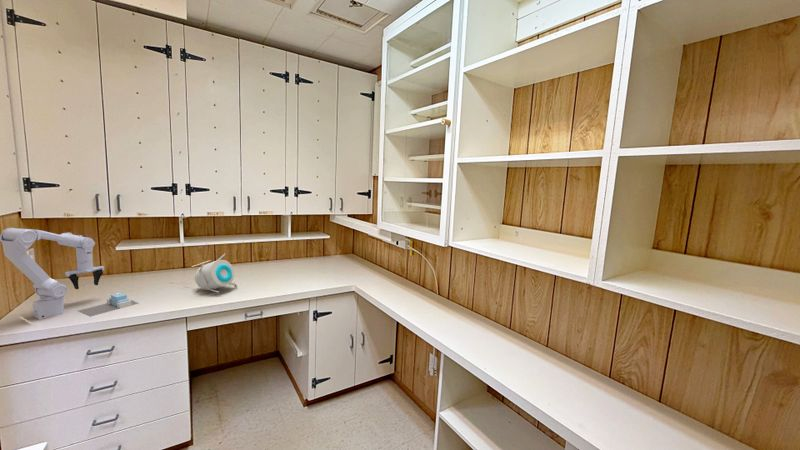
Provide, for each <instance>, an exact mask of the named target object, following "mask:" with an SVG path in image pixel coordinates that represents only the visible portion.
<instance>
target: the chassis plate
mask: <svg viewBox="0 0 800 450" xmlns="http://www.w3.org/2000/svg"><path fill="white" fill-rule="evenodd" d="M109 298H110V297H108V298H106V303H102V304H98V305H95V306H90V307H87V308H83V309H80V310H77V312H78V313H80V314H81V313H82V314H83V315H86V316H88V317H94V316H99V315H101V314H105V313H109V312H112V311H115V310H120V309H123V308H127V307H131V306H135V305H137V304H138V305H139V304H140V302H138V301H134V300H132V299H129V301H125V302H121V303H117V306H114V305H112V304H111V299H109Z"/></svg>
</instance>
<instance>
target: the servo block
mask: <svg viewBox="0 0 800 450" xmlns="http://www.w3.org/2000/svg"><path fill="white" fill-rule="evenodd" d="M108 298H109V299H111V304H112V305H114V306H117V303H121V302H125V301H129V300H130V299H128V296H127V294H125V293H122V292H115V293H112V294H110V297H108Z"/></svg>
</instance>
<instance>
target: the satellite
mask: <svg viewBox="0 0 800 450" xmlns="http://www.w3.org/2000/svg"><path fill="white" fill-rule="evenodd" d="M225 256H226V253H223V254H222V255H221V256H220V257H219V258H217V260H215V261H212V260H211V259H209V260H206V261H203V262H200V263H198V264H195V265H192V266H191V267H196V266H199V265H200V267H199V268H198V269H197V270H196V272H195V274H194V281H195V283H196V285H197V286H198V287H199V288H201V289H202V290H205V291H210V292H211V291H212V292H215V293H212V294H208V296H210V295H215V294H217V293H220V292H221V290H216V289H219V288H222V287H226V286H232V285H233V286H235V285H236V286H238V283H237V282H234V283H232V282H233V281H234V278H235V269H234V266H233V265H232V264H231V262H229V261H227V260H226V259H222V258H225ZM211 261H212V262H211ZM206 263H207V264H206ZM208 296H207V297H208Z"/></svg>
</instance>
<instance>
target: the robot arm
mask: <svg viewBox="0 0 800 450" xmlns="http://www.w3.org/2000/svg"><path fill="white" fill-rule="evenodd" d="M40 240H48V241H53V242H57V244H58V245H60V246H67V247H71V248H75V253H76V268H77V269H74V270H73V269H72V270H68V271H65V272H64V275H65V277H67V278H68V279H69V280H70V281H71V283H72V284H73V287H74V289H75V290H79V289H80V287H79V278H80V276H78V275H82V274H87V273H92V275H93V285H95V286H98V285H99V283H100V279H101V277H102V275H103V273H104V271H105V266H103V265H100V266H94V262H93V259H94V258H93V251H94V250H93V249H94V246H96V242H95V241H94V239H93V238H91V237H88V236H86V237H85V236H83V235H81V234H78V235H76V234H73V233H72V232H70V231H69V232H63V233H60V234H57V233H53V232H49V231H45V230H40V229H32V228H31V229H30V228H16V227H7V228H5V229H3V230H2V232H1V233H0V242H1V244H2V249H3V255H4V256H5V257H6V258H7V259H8V260H9V261H10V263H12V264H13V265H14V266H15V267H16V268H17V269H18V270H20V272H22V274H23V275H25V277H26V278H28V279H29V280H30V281H31V282H32V283H33V284H32V287H33V288H34V292H35V294H36V295H37V296H39V299H37V300H35V301H33V302H32V312H33V313H32V314H33V317H34V318H36V319H38V321H39V320H44V319H47V318H52V317H57V316H61V315H63V314H64V313H65V301H64V298H65V295H66V294H67V292H68V287H67V285H65V284H63V283H60V281H57V280H56V279H53V278H51V277H50V276H49V274H48V273H47V272H45V271H44V269H42V267H41V266H40V265H39V264H38V263H36V261H35V260H34V259H33V258H32V257H31V256H30V255H29V254H28V253H27V252H28V250H29V249H30V248H31V247H32V245H33V244H34V243H35V242H36V241H40Z"/></svg>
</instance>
